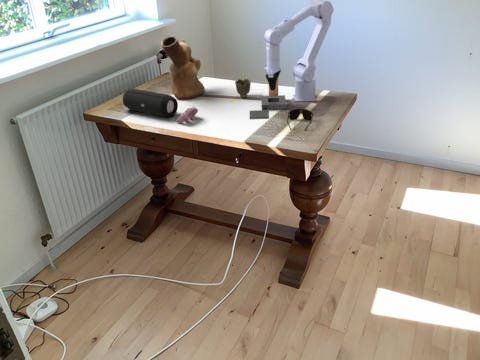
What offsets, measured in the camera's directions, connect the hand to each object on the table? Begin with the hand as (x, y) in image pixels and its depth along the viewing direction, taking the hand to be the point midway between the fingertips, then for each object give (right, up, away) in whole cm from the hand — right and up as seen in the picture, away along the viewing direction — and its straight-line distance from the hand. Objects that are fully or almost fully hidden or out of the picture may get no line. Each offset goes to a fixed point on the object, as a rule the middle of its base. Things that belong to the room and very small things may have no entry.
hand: (273, 88), depth 198 cm
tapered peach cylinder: (0, -3, +2) cm, 3 cm away
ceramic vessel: (-42, 0, +20) cm, 47 cm away
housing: (0, -7, +4) cm, 8 cm away
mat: (-7, -13, -4) cm, 15 cm away
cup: (-13, -1, +15) cm, 20 cm away
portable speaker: (-56, -11, +4) cm, 57 cm away
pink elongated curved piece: (-38, -16, -5) cm, 41 cm away
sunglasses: (+10, -19, -14) cm, 26 cm away
